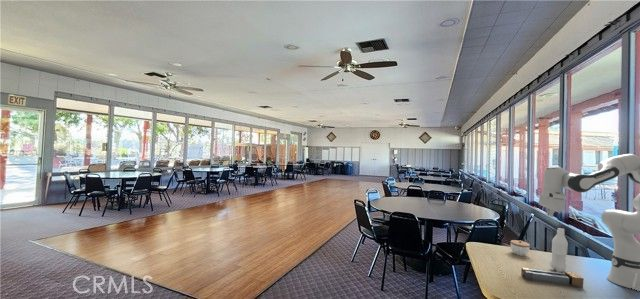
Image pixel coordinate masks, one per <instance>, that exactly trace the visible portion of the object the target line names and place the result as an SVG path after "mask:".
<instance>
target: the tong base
mask: <svg viewBox="0 0 640 299" xmlns="http://www.w3.org/2000/svg"><path fill="white" fill-rule="evenodd" d="M563 273H566V274H567V276H560V275H552V274H545V273H537V272H531V271H524V277H523V279H524V280H526V281H531V282H532V281H533V282H541V283H548V284H552V285H553V284H555V285H563V286H569V287H570V286H571V287H575V288H581V289H583V288H584V281H585V280H584V277H582V276H581V275H579V274H578V273H576V272H574V271H567V270H565V271H564V272H563Z"/></svg>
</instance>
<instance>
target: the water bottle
mask: <svg viewBox="0 0 640 299" xmlns="http://www.w3.org/2000/svg"><path fill="white" fill-rule="evenodd" d="M565 234H566V233H565V228H560V227H557V230H556V235H555V236H554V237H553V238H552V240H551V241H552V242H551V260H550V270H552V271H555V272H560V273H564V271H567V264H566V262H567V260H566V258H567V256H568V245H569V243H568V240H567V238H566V236H565Z"/></svg>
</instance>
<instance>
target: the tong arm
mask: <svg viewBox="0 0 640 299" xmlns="http://www.w3.org/2000/svg"><path fill="white" fill-rule="evenodd" d="M524 271H531V272H537V273H545V274H552V275H560V276H567V274H566V273H564V272H557V271H553V270H552V271H550V270H544V269H542V270H541V269H534V268H527V267H521V276H522V277H523V278H524Z"/></svg>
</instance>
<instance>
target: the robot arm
mask: <svg viewBox="0 0 640 299" xmlns="http://www.w3.org/2000/svg"><path fill="white" fill-rule="evenodd" d="M625 175H627V176H628V178H630V180H631V181H632V182H634V183H636V184H638V185H640V156H638V155H636V154H634V153H626V154H619V155H615V156H612V157H611V156H610V157H609V158H605V159H603V160H601V161H600V162H598V165H597V171H594V172H593V173H589V174H583V173H581V174H579V173H573V172H570V171H568V170H566V169H564V168H562V166H553V165H552V166H548V167H546V168H545V169H544V172H543V186H542V192H541V193H540V195H539V198H538V204H539V206H542V207H544V208H545V211H546V215H547V216H548V217H551V218H552V217H554V214H555V212H557V213H564V212H565V209H566V200H567V195H566V194H565V193H564V192H563V191H562V188H563V189H568V190H570V191H575V192H577V193H586V192H589V191H590V190H591V189H593V188H594V187H596V186H597V185H599V184H602V183H605V182H608V181H611V180H612V179H616V178H617V177H620V176H625ZM632 207H633V208H634V209H635V210H636V211H635V212H631V211H625V210H622V209H611V208H610V209H606V210H604V211H603V212H602V214H601V216H600V218H601V222H602V224H604V225H605V226H606V228H608V230H609V232H610V234H611V236H612V239H613V253H612V254H611V267H610V270H609V274H608V275H607V277H606V279H607V280H608V281H610V282H611V283H613V284H616V285H617V286H621V287H625V288H628V289H631V288H632V290H634V289H635V290H634V291H636V290H637V291H636V292H639V291H640V241H639V240H638V239H636V237H635V235H637V236H640V192H639V193H638V194H637V195H636V196H635V197H634V198H633V199H632Z"/></svg>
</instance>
